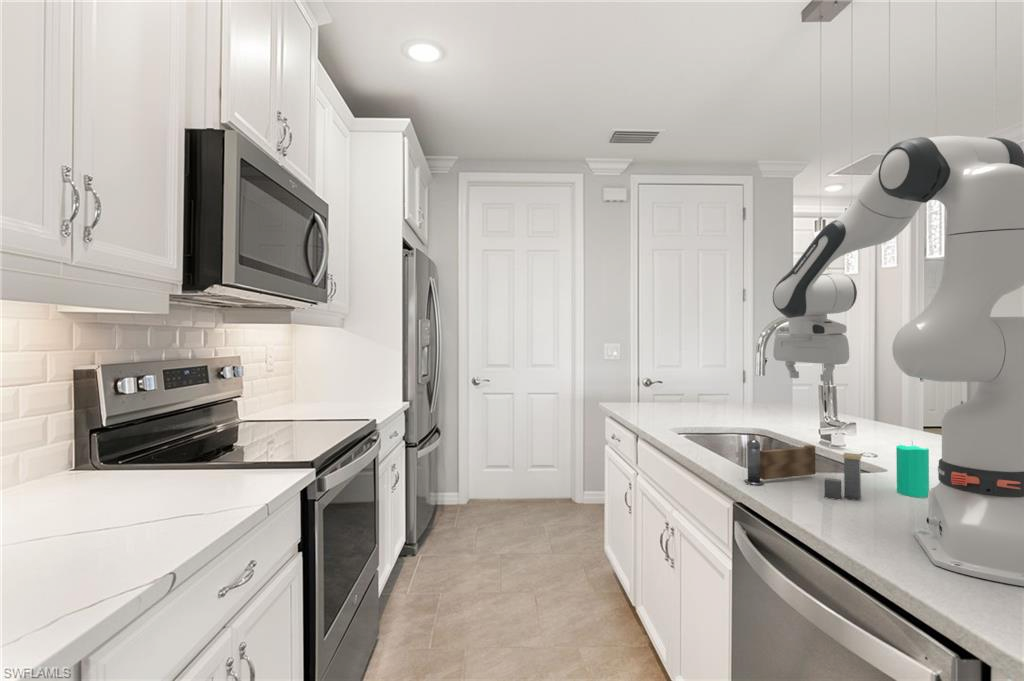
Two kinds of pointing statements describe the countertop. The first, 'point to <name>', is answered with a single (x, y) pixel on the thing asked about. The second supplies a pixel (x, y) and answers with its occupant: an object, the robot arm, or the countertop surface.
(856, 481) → the latch post
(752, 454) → the hinge post
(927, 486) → the candle
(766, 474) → the gate
